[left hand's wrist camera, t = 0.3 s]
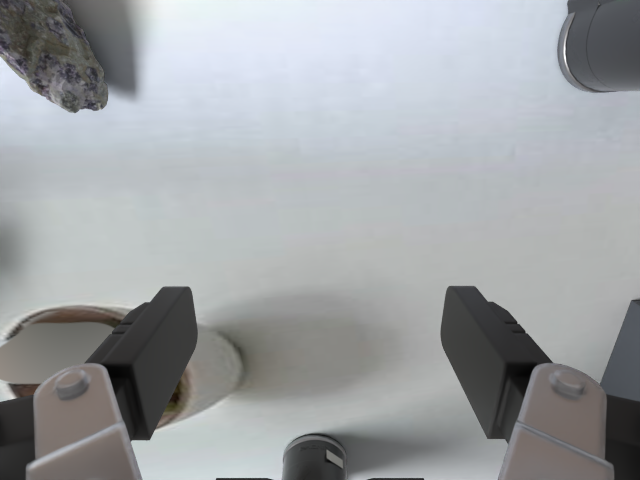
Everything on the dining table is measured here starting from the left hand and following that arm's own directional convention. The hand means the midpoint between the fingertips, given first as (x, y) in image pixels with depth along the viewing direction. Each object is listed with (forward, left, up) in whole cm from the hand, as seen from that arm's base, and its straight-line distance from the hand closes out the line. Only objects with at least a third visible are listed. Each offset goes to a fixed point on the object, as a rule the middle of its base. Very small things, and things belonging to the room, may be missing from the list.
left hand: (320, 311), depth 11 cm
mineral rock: (+11, +25, -29) cm, 40 cm away
